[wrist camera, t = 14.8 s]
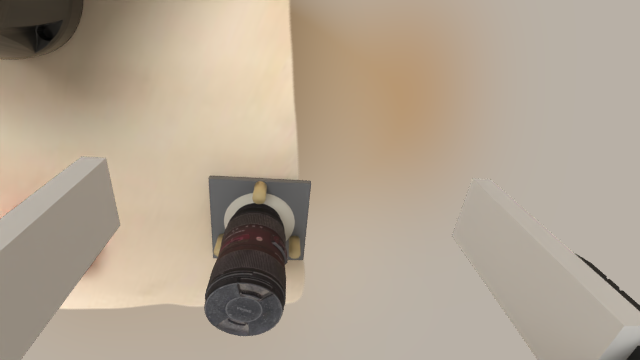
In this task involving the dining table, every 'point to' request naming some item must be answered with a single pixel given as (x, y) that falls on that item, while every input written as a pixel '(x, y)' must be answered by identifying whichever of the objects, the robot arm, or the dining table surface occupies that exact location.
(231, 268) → the camera lens
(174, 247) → the dining table surface
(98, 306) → the dining table surface
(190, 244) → the dining table surface
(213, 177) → the mount
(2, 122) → the dining table surface
